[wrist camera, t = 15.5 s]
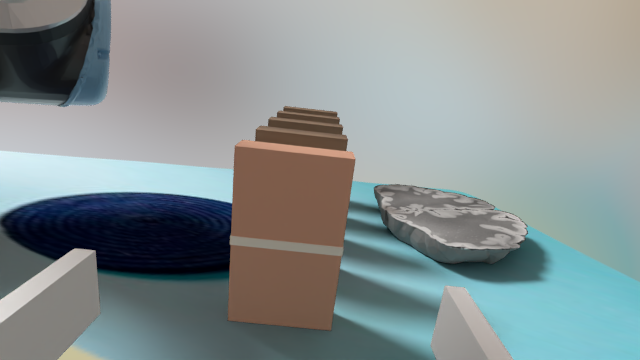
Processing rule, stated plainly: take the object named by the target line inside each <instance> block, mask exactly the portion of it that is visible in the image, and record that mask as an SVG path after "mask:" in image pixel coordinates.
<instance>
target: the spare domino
mask: <svg viewBox="0 0 640 360" xmlns="http://www.w3.org/2000/svg"><path fill="white" fill-rule="evenodd" d="M354 166H355V157H354V154H353V152H348V151H339V150H330V149H321V148H312V147H303V146H294V145H285V144H276V143H267V142H258V141H249V140H242V141H240V142H239V143H238V144H237V145H235V154H234V178H233V202H232V226H231V235H230V245H231V250H230V275H229V299H228V321H237V322H247V323H257V324H267V325H278V326H288V327H298V328H308V329H318V330H329V331H331V326H332V319H333V312H334V305H335V298H336V291H337V284H338V277H339V270H340V264H341V257H342V256H343V249H344V247H343V243H344V236H345V229H346V222H347V215H348V208H349V201H350V194H351V187H352V179H353V172H354Z"/></svg>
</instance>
